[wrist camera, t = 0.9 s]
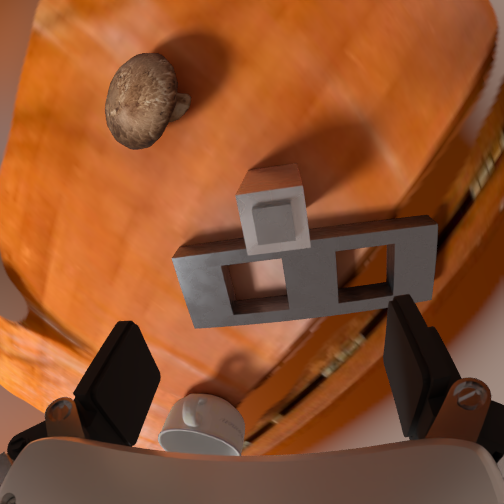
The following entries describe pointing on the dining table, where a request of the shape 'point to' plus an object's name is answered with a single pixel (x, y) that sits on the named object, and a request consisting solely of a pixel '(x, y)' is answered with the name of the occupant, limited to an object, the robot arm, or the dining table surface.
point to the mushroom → (143, 100)
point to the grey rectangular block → (273, 210)
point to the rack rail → (309, 274)
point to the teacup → (203, 427)
